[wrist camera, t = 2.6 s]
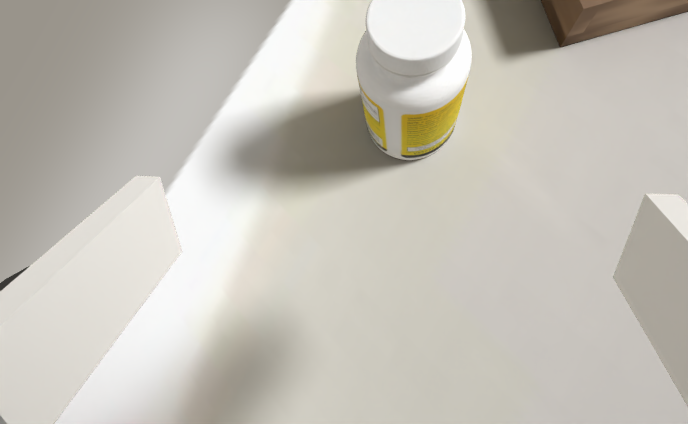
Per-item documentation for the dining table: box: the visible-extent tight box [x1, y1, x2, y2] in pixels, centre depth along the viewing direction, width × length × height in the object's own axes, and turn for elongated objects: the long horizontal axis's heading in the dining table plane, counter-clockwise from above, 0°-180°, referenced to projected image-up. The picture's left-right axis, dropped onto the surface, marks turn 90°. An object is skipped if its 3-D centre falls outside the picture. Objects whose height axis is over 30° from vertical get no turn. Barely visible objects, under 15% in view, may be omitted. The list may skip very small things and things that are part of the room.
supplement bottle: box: [356, 0, 472, 160], centre depth 22 cm, size 5×5×10 cm
